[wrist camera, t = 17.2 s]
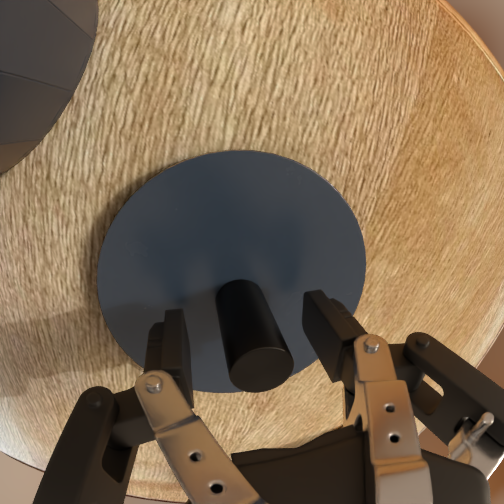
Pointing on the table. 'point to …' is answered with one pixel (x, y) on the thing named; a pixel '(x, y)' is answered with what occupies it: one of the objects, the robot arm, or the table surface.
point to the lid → (230, 264)
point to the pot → (39, 67)
